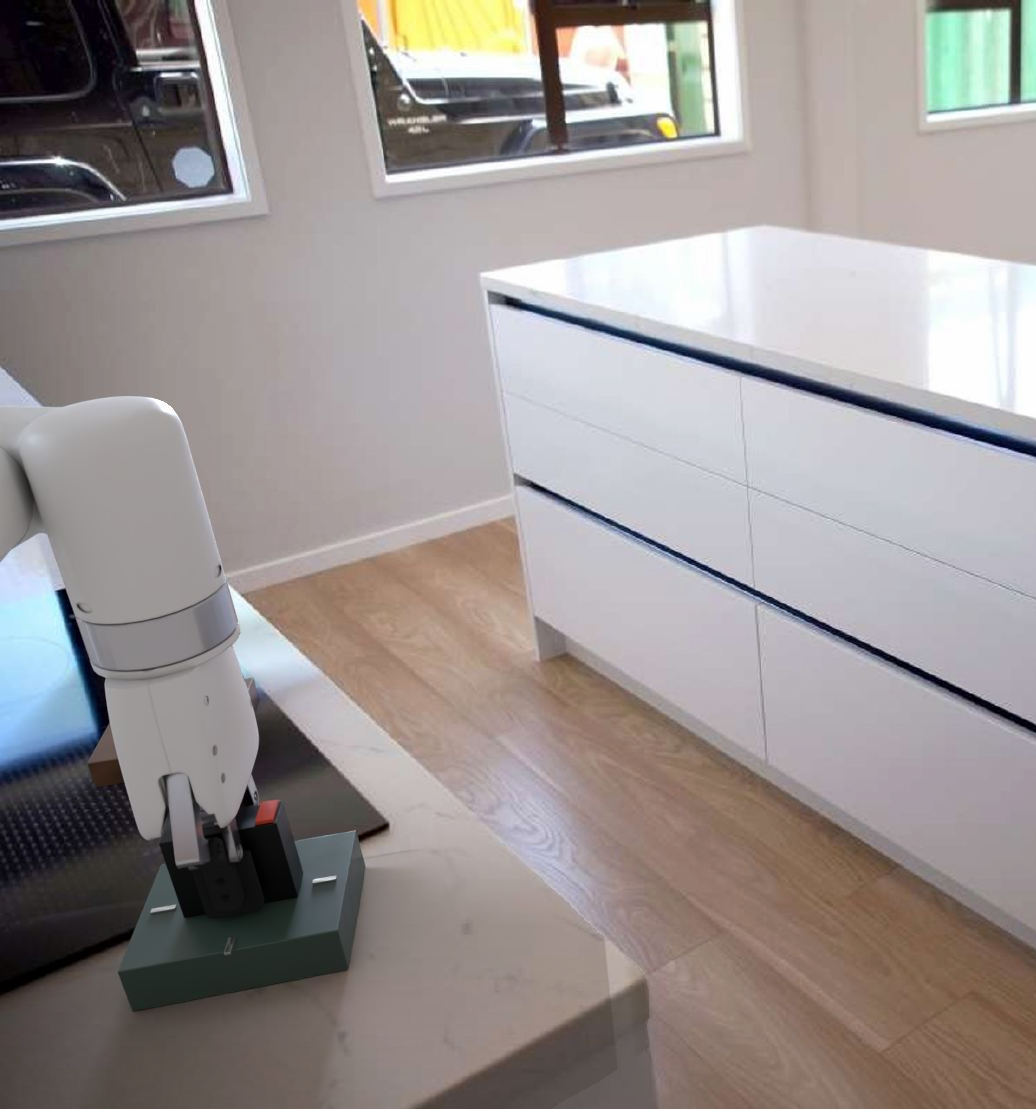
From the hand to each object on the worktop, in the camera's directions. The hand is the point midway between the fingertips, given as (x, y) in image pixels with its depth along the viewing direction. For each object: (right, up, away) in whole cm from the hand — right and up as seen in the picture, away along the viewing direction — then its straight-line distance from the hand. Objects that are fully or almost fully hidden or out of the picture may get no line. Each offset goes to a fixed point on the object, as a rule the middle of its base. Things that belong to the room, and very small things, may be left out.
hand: (242, 887), depth 77 cm
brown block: (-15, +6, +23) cm, 28 cm away
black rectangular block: (0, -1, 0) cm, 1 cm away
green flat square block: (0, -3, +2) cm, 4 cm away
